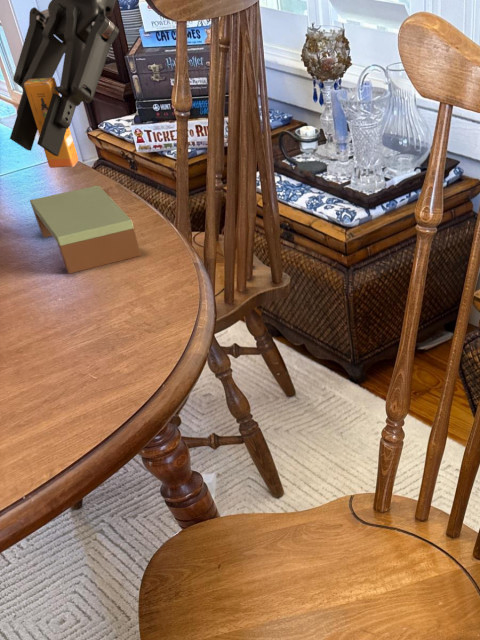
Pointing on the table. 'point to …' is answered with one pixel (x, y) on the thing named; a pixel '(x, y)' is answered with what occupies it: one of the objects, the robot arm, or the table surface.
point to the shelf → (86, 228)
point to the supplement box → (39, 101)
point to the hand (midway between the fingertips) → (34, 147)
